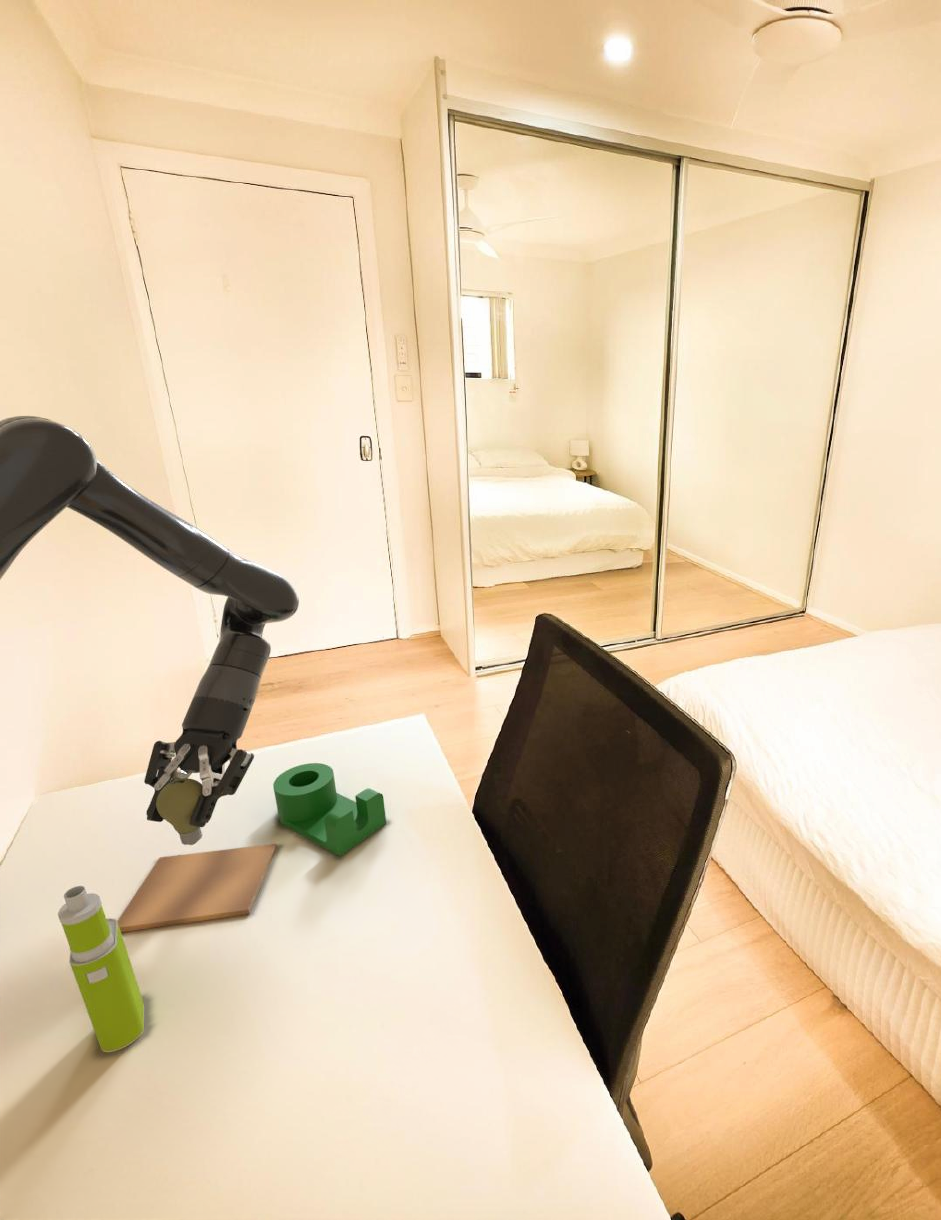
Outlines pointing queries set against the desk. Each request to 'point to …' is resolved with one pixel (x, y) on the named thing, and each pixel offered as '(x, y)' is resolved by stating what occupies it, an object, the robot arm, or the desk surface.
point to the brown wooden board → (198, 887)
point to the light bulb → (181, 807)
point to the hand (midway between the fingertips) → (175, 823)
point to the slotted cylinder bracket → (326, 808)
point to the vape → (102, 970)
